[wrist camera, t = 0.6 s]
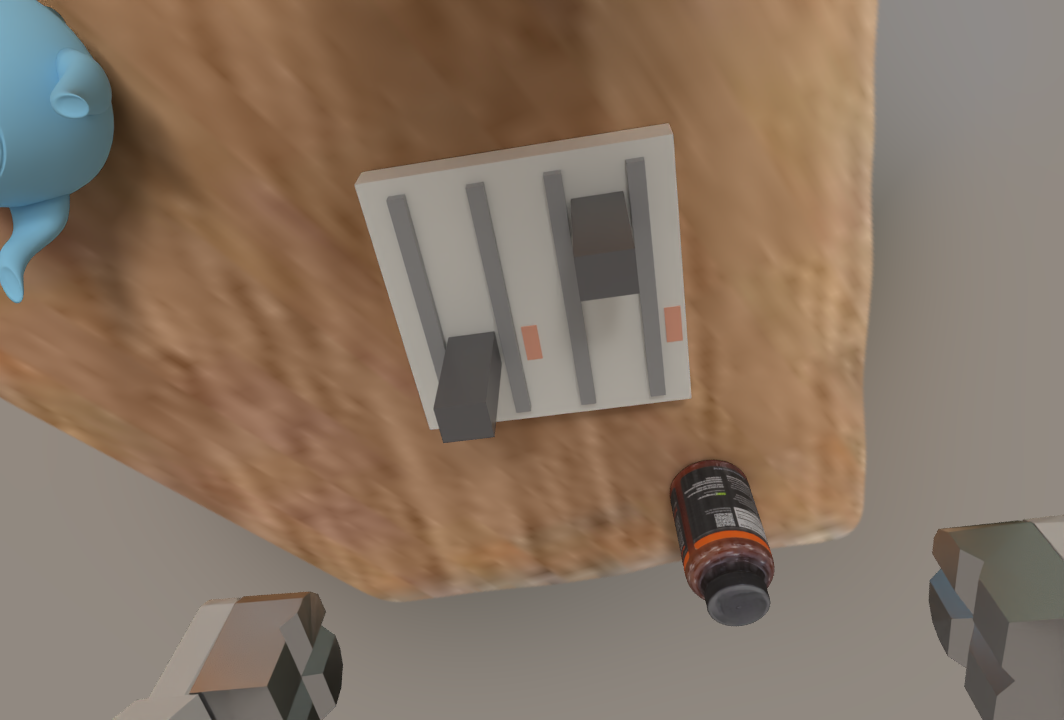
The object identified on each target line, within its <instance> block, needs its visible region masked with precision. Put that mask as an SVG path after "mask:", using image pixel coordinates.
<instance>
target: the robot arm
mask: <svg viewBox="0 0 1064 720" xmlns="http://www.w3.org/2000/svg"><path fill="white" fill-rule="evenodd" d="M932 553H933V555H934V557H935V559H936V561H937V562H938V564H939V566H940V567H941V569H940V570H939V571H938V572H937V573H936V574H935V575H934V576H933V578H931V579H930V585H929V604H930V611H931V616H932V621H933V625H934V627H935V630H936V633H937V636H938V638H939V640H940V642H941V644H942V646H943V648H944V650H945V652H946V654H947V656H948V657H950V658H951V659H953V660H954V661H956V662H958V663H959V664H961V665H962V666H964V667H966V668H967V669H966V677H965V686H964V687H965V689H966V691H967V692H968V694H969V696H970V698H971V700H972V701H973V703H974V705H975V707H976V709H977V710H978V712H979V714H980V716H981V718H982V719H983V720H1064V515H1058V516H1049V517H1040V518H1032V519H1024V520H1023V521H1009V522H999V523H991V524H980V525H972V526H962V527H952V528H943V529H938V531H937V533H936V535H935V537H934V543H933V551H932ZM325 613H326V611H325V608H324V606H323V604H322V602H321V599H320V597H319V595H318V594H316V593H313V592H298V593H285V594H271V595H257V596H244V597H242V598H228V599H213V600H209V601H207V602H206V603H205V604H203V605H202V606H201V607H200V608H199V609H198V611H197V613H196V615H195V617H194V618H193V620H192V622H191V624H190V625H189V627H188V629H187V630H186V632H185V634H184V636H183V638H182V639H181V641H180V643H179V645H178V647H177V648H176V650H175V652H174V653H173V655H172V657H171V659H170V660H169V662H168V664H167V666H166V668H165V669H164V671H163V673H162V675H161V676H160V678H159V680H158V682H157V683H156V685H155V687H154V689H153V691H152V693H151V694H150V696H149V698H147V699H138V700H136V701H135V702H133V703H132V704H131V705H130V706H128V707H127V708H126V709H125V710H123V711H122V712H121V713H120V714H118V715H117V716H116V717H115V718H114V719H112V720H323V719H324V718H325V717H326V716H327V715H328V714H329V713H330V712H331V711H332V710H333V709H334V708H335V707H336V704H337V701H338V697H339V694H340V690H341V685H342V670H343V663H342V657H341V650H340V647H339V644H338V641H337V639H336V636H335V635H334V634H333V633H331V632H330V631H329V630H327V629H326V628H324V627H323V626H322V625H321V624H322V621H323V619H324V616H325Z"/></svg>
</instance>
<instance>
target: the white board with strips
mask: <svg viewBox="0 0 1064 720" xmlns="http://www.w3.org/2000/svg"><path fill="white" fill-rule="evenodd" d="M354 185H355V188H356V192H357V195H358V198H359V201H360V205H361V208H362V211H363V214H364V217H365V221H366V224H367V227H368V230H369V234H370V237H371V240H372V243H373V247H374V250H375V253H376V256H377V260H378V263H379V266H380V269H381V272H382V276H383V279H384V282H385V285H386V289H387V292H388V295H389V298H390V302H391V305H392V308H393V311H394V315H395V318H396V321H397V324H398V327H399V331H400V334H401V337H402V340H403V344H404V347H405V350H406V353H407V357H408V360H409V363H410V366H411V370H412V373H413V376H414V379H415V382H416V386H417V389H418V392H419V395H420V399H421V402H422V405H423V408H424V412H425V415H426V418H427V421H428V425H429V428H430V430H433V429H439V426H438V423H437V420H436V417H435V413H434V410H433V407H434V402H435V398H436V393H437V388H438V384H439V379H440V374H441V370H442V365H443V360H444V356H445V351H446V346H447V342H448V337H456V336H463V335H471V334H478V333H486V332H493V331H495V336H496V340H497V344H498V349H499V353H500V357H501V362H502V368H501V378H500V388H499V398H498V408H497V418H496V422H500V421H508V420H516V419H525V418H533V417H541V416H550V415H558V414H566V413H575V412H583V411H591V410H600V409H608V408H616V407H625V406H633V405H641V404H650V403H658V402H666V401H674V400H683V399H691V383H690V369H689V354H688V340H687V325H686V311H685V296H684V282H683V268H682V253H681V239H680V224H679V210H678V195H677V181H676V166H675V152H674V137H673V132H672V130H671V127H670V125H669V123H666V124H659V125H653V126H647V127H641V128H634V129H628V130H622V131H616V132H610V133H603V134H597V135H591V136H585V137H578V138H572V139H566V140H560V141H553V142H547V143H541V144H535V145H528V146H522V147H516V148H510V149H503V150H497V151H491V152H485V153H479V154H472V155H466V156H460V157H454V158H447V159H441V160H435V161H429V162H422V163H416V164H410V165H404V166H397V167H391V168H385V169H379V170H372V171H366V172H361V174H360V176H359V178H358V179H357V181H356V183H355V184H354ZM619 191H623V192H624V197H625V202H626V206H627V211H628V216H629V221H630V226H631V231H632V236H633V241H634V246H635V253H636V262H637V272H638V281H639V291H640V293H639V294H632V295H625V296H617V297H610V298H603V299H595V300H588V301H581V302H580V296H579V290H578V283H577V277H576V270H575V264H574V257H573V237H572V216H571V199H573V198H580V197H586V196H593V195H600V194H606V193H613V192H619Z"/></svg>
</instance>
